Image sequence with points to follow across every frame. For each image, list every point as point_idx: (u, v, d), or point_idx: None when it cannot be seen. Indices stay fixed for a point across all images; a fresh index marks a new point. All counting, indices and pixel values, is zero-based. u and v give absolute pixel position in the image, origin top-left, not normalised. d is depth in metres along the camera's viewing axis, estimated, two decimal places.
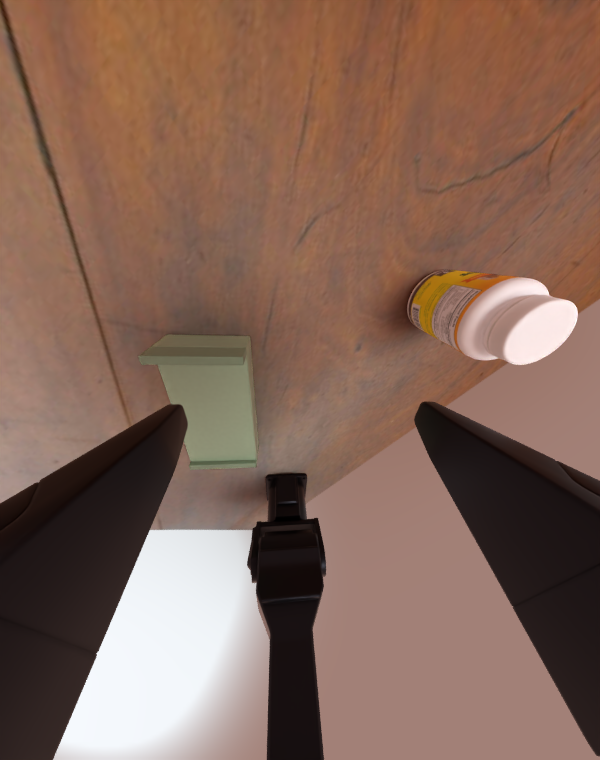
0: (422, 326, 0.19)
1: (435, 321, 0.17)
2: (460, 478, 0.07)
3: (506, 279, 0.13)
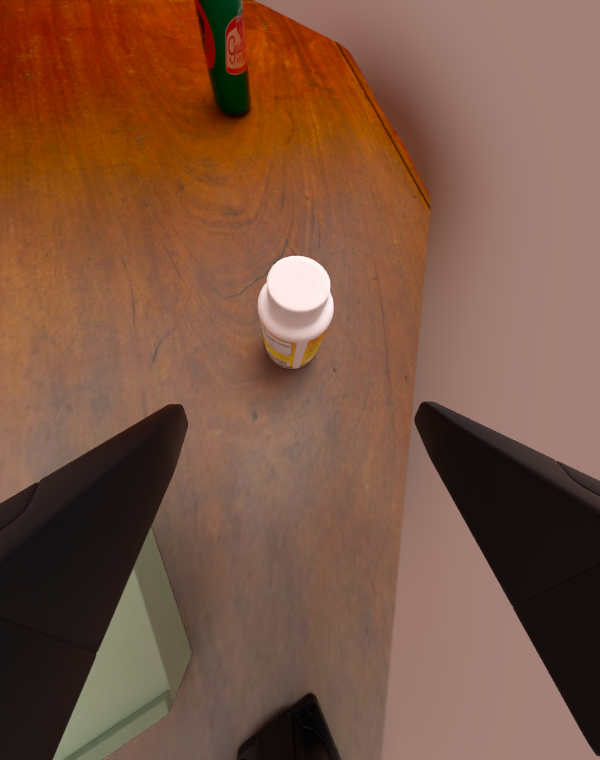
0: (280, 359, 0.19)
1: (268, 342, 0.17)
2: (460, 478, 0.07)
3: None
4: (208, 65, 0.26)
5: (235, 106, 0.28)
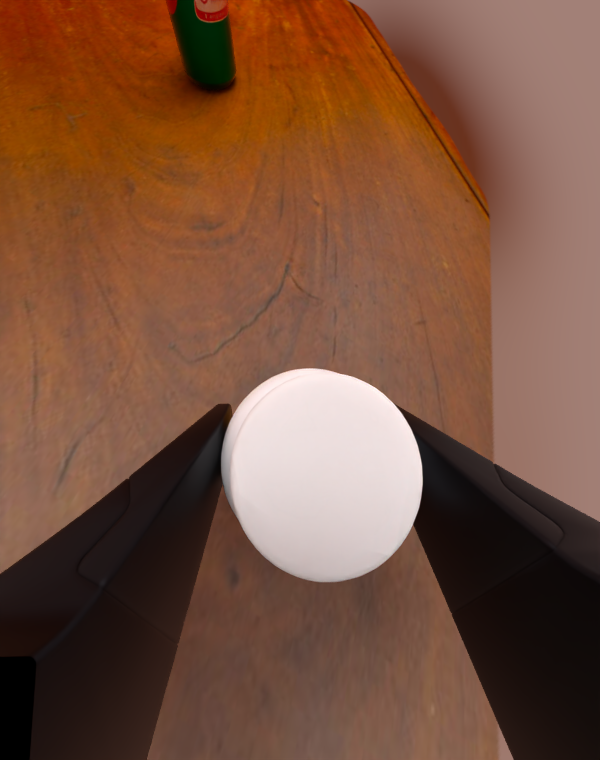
0: None
1: None
2: None
3: None
4: (169, 8, 0.17)
5: (212, 74, 0.20)
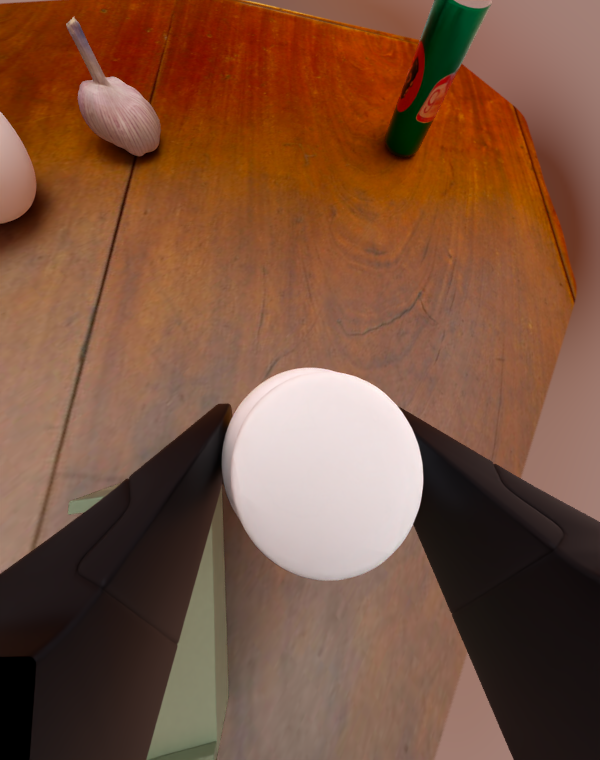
0: None
1: None
2: None
3: None
4: (399, 108, 0.26)
5: (405, 149, 0.28)
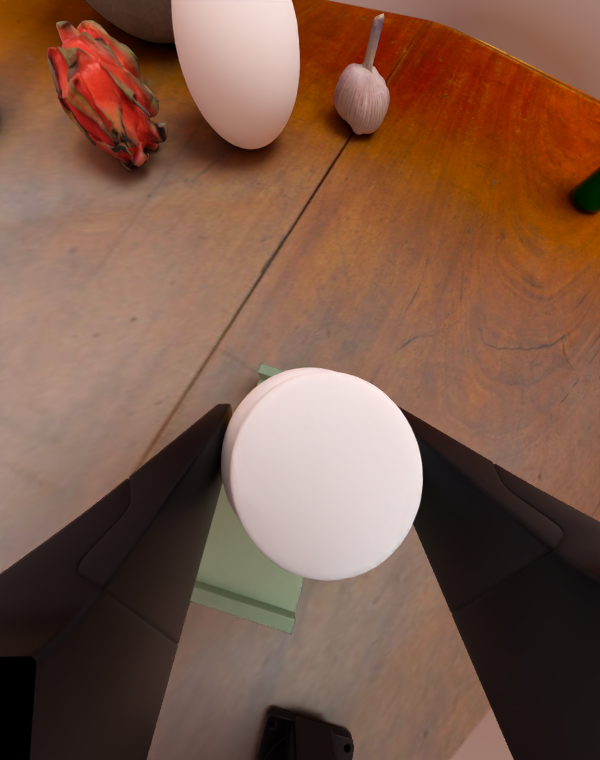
0: None
1: None
2: None
3: None
4: None
5: (592, 204, 0.29)
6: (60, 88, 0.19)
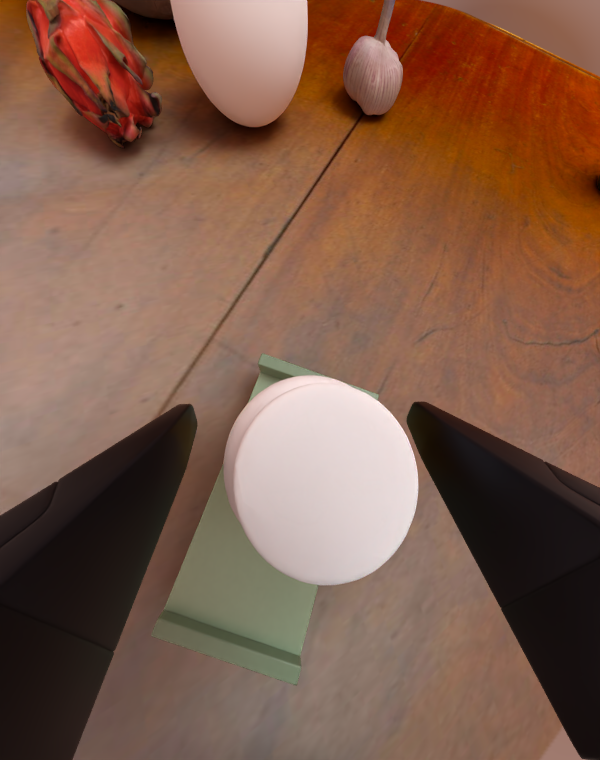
0: None
1: None
2: (450, 479, 0.07)
3: None
4: None
5: None
6: (41, 49, 0.17)
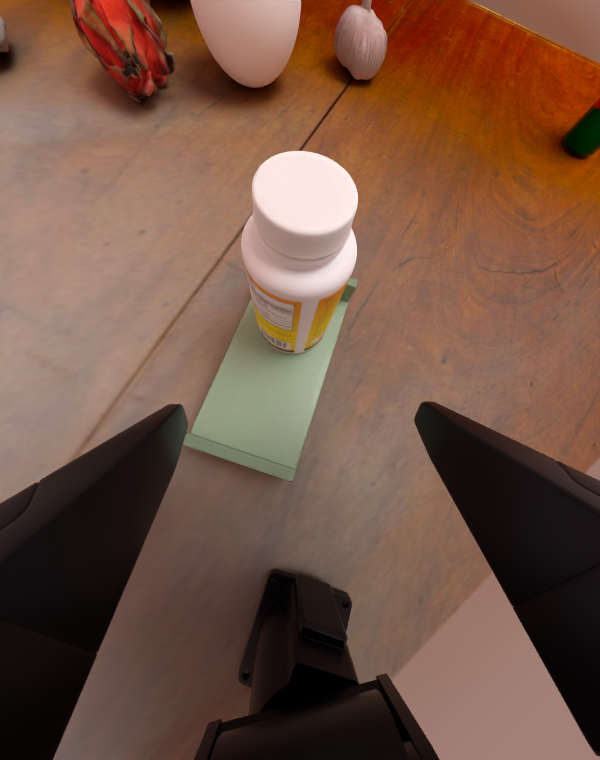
0: (278, 338, 0.14)
1: (260, 310, 0.12)
2: (460, 478, 0.07)
3: None
4: (597, 105, 0.28)
5: (583, 146, 0.30)
6: (75, 9, 0.21)
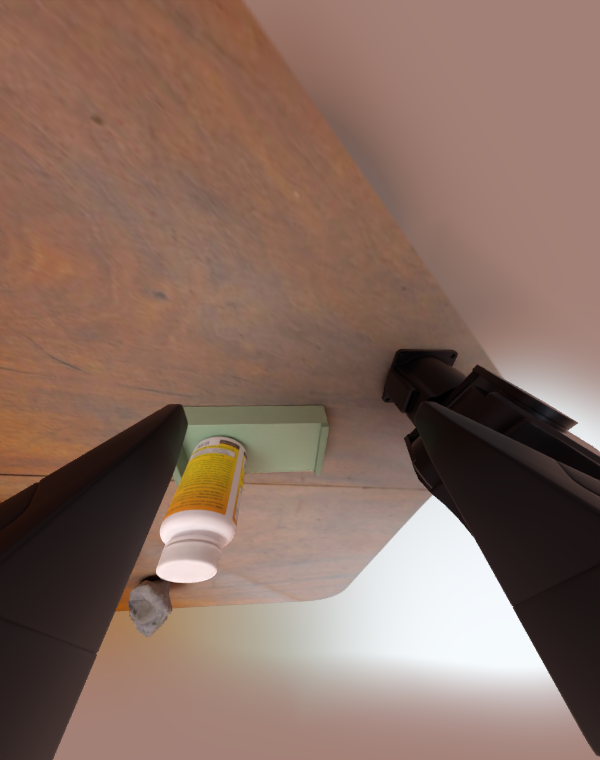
0: (243, 475, 0.21)
1: None
2: (460, 478, 0.07)
3: None
4: None
5: None
6: None
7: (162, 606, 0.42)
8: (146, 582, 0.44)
